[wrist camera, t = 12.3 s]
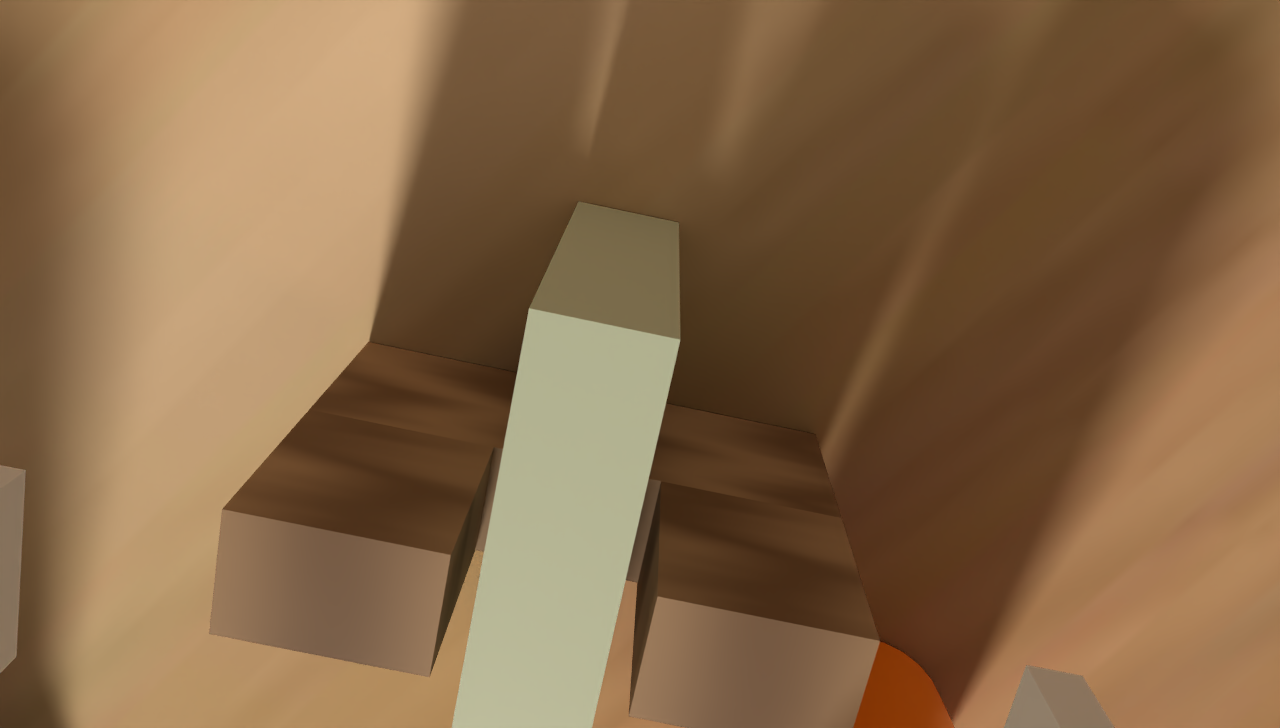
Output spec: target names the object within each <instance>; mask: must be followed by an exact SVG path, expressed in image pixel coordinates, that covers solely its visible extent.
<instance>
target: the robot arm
mask: <svg viewBox="0 0 1280 728" xmlns="http://www.w3.org/2000/svg"><path fill="white" fill-rule="evenodd" d="M25 477H26V470H23V469H18V468H13V467H8V466H3V465H0V673H1V672H2V671H3V670H4V669H5V668H6V667H7V666H8V665H9V664H10V663H11V662H12V661H13V660H14V659H15V658H16V657H17V637H18V617H19V597H20V577H21V557H22V537H23V517H24V497H25ZM1004 728H1114V726H1113V725H1112V723H1111V721H1110V720H1109V718H1108V716H1107V715H1106V713H1105V712H1104V710H1103V708H1102V707H1101V705H1100V704H1099V702H1098V700H1097V699H1096V697H1095V695H1094V694H1093V692H1092V691H1091V689H1090V687H1089V686H1088V684H1087V683H1086V681H1085V679H1084V678H1083V676H1081V675H1076V674H1070V673H1065V672H1060V671H1055V670H1050V669H1045V668H1040V667H1035V666H1029V665H1026V667H1025V670H1024V673H1023V676H1022V679H1021V681H1020V684H1019V687H1018V690H1017V693H1016V695H1015V698H1014V701H1013V704H1012V707H1011V710H1010V712H1009V715H1008V718H1007V721H1006V724H1005V726H1004Z"/></svg>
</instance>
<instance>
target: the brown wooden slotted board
mask: <svg viewBox="0 0 1280 728" xmlns="http://www.w3.org/2000/svg"><path fill="white" fill-rule="evenodd" d="M516 376H517V373H516V372H511V371H506V370H502V369H497V368H492V367H487V366H482V365H477V364H473V363H468V362H463V361H458V360H453V359H448V358H443V357H439V356H434V355H429V354H424V353H419V352H414V351H410V350H405V349H400V348H395V347H390V346H385V345H380V344H376V343H371V342H368V343H367V344H366V346H365V347H364V348H363V349H362V350H361V351H360V352H359V354H358V355H357V356H356V357H355V358H354V359H353V360H352V362H351V363H350V364H349V365H348V366H347V367H346V368H345V370H344V371H343V372H342V373H341V374H340V375H339V376H338V378H337V379H336V380H335V381H334V382H333V383H332V384H331V386H330V387H329V388H328V389H327V390H326V391H325V392H324V394H323V395H322V396H321V397H320V398H319V399H318V400H317V402H316V403H315V404H314V405H313V406H312V407H311V408H310V410H309V411H308V412H307V413H306V414H305V415H304V416H303V418H302V419H301V420H300V421H299V422H298V423H297V424H296V426H295V427H294V428H293V429H292V430H291V431H290V432H289V434H288V435H287V436H286V437H285V438H284V439H283V440H282V442H281V443H280V444H279V445H278V446H277V447H276V448H275V450H274V451H273V452H272V453H271V454H270V455H269V456H268V458H267V459H266V460H265V461H264V462H263V463H262V464H261V466H260V467H259V468H258V469H257V470H256V471H255V472H254V474H253V475H252V476H251V477H250V478H249V479H248V480H247V482H246V483H245V484H244V485H243V486H242V487H241V488H240V490H239V491H238V492H237V493H236V494H235V495H234V496H233V498H232V499H231V500H230V501H229V502H228V503H227V504H226V506H225V507H224V508H223V509H222V517H221V526H220V536H219V545H218V555H217V564H216V574H215V583H214V593H213V602H212V612H211V621H210V631H209V634H212V635H217V636H222V637H228V638H233V639H238V640H243V641H248V642H253V643H258V644H263V645H268V646H273V647H278V648H284V649H289V650H294V651H299V652H304V653H309V654H314V655H319V656H324V657H329V658H334V659H340V660H345V661H350V662H355V663H360V664H365V665H370V666H375V667H380V668H385V669H390V670H396V671H401V672H406V673H411V674H416V675H421V676H426V677H430V674H431V671H432V669H433V666H434V663H435V660H436V658H437V655H438V652H439V649H440V646H441V644H442V641H443V638H444V635H445V632H446V630H447V627H448V624H449V621H450V619H451V616H452V613H453V610H454V607H455V605H456V602H457V599H458V596H459V593H460V591H461V588H462V585H463V582H464V580H465V577H466V574H467V571H468V568H469V566H470V563H471V560H472V557H473V554H474V552H475V550H478V551H483V552H484V550H485V545H486V539H487V534H488V528H489V523H490V517H491V512H492V507H493V501H494V496H495V490H496V485H497V479H498V474H499V469H500V463H501V458H502V452H503V447H504V441H505V436H506V431H507V425H508V420H509V414H510V409H511V403H512V398H513V393H514V387H515V382H516ZM626 580H628V581H633V582H637V598H636V613H635V629H634V644H633V659H632V675H631V690H630V706H629V716H630V717H635V718H640V719H645V720H650V721H655V722H660V723H665V724H670V725H675V726H681V727H686V728H853V727H854V723H855V720H856V717H857V714H858V710H859V707H860V704H861V701H862V698H863V694H864V691H865V688H866V685H867V682H868V678H869V675H870V672H871V669H872V665H873V662H874V659H875V656H876V653H877V649H878V646H879V643H880V639H879V636H878V633H877V629H876V626H875V623H874V620H873V617H872V614H871V610H870V607H869V604H868V601H867V598H866V594H865V591H864V588H863V585H862V582H861V578H860V575H859V572H858V569H857V566H856V563H855V559H854V556H853V553H852V550H851V547H850V543H849V540H848V537H847V534H846V531H845V528H844V524H843V521H842V518H841V515H840V512H839V508H838V505H837V502H836V499H835V496H834V492H833V489H832V486H831V483H830V480H829V477H828V473H827V470H826V467H825V464H824V461H823V457H822V454H821V451H820V448H819V445H818V442H817V438H816V435H815V434H812V433H807V432H802V431H797V430H792V429H788V428H783V427H778V426H773V425H768V424H763V423H759V422H754V421H749V420H744V419H739V418H734V417H729V416H725V415H720V414H715V413H710V412H705V411H700V410H696V409H691V408H686V407H681V406H676V405H671V404H666V405H665V410H664V414H663V418H662V423H661V427H660V431H659V436H658V440H657V445H656V449H655V453H654V458H653V462H652V466H651V471H650V475H649V480H648V484H647V488H646V493H645V497H644V501H643V506H642V510H641V515H640V519H639V523H638V528H637V532H636V536H635V541H634V545H633V550H632V554H631V558H630V563H629V567H628V572H627V576H626Z"/></svg>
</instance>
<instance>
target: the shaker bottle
mask: <svg viewBox="0 0 1280 728" xmlns="http://www.w3.org/2000/svg"><path fill="white" fill-rule="evenodd" d="M853 728H955V727H954V725H953V723H952V721H951V719H950V717H949V714H948V712H947V710H946V708H945V706H944V704H943V701H942V699H941V697H940V695H939V693H938V691H937V689H936V687H935V685H934V683H933V682H932V680H931V678H930V677H929V676H928V675H927V674H926V672H925V671H924V670H923V669H922V668H921V667H920V665H919V664H917V663H916V662H915V661H914V660H912V659H911V658H910V657H908V656H907V655H906V654H905V653H903V652H902V651H900V650H898V649H896V648H894V647H892V646H890V645H888V644H886V643H883V642H880V643H879V646H878V649H877V653H876V656H875V659H874V662H873V665H872V669H871V672H870V675H869V678H868V682H867V685H866V688H865V691H864V694H863V698H862V701H861V704H860V707H859V710H858V714H857V717H856V720H855V723H854V727H853Z"/></svg>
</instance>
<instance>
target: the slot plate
mask: <svg viewBox="0 0 1280 728" xmlns="http://www.w3.org/2000/svg"><path fill="white" fill-rule="evenodd" d="M679 344H680V266H679V222H674V221H669V220H665V219H660V218H655V217H650V216H646V215H641V214H636V213H631V212H627V211H622V210H617V209H612V208H608V207H603V206H598V205H594V204H589V203H584V202H579V201H578V204H577V206H576V208H575V210H574V212H573V214H572V217H571V219H570V221H569V223H568V225H567V227H566V229H565V232H564V234H563V236H562V238H561V240H560V242H559V245H558V247H557V249H556V251H555V253H554V255H553V258H552V260H551V262H550V264H549V266H548V268H547V271H546V273H545V275H544V277H543V279H542V281H541V283H540V286H539V288H538V290H537V292H536V294H535V296H534V299H533V301H532V303H531V305H530V307H529V311H528V317H527V322H526V328H525V333H524V338H523V344H522V349H521V355H520V360H519V365H518V371H517V376H516V382H515V387H514V393H513V398H512V403H511V409H510V414H509V420H508V425H507V431H506V436H505V441H504V447H503V452H502V458H501V463H500V469H499V474H498V479H497V485H496V490H495V496H494V501H493V507H492V512H491V517H490V523H489V528H488V534H487V539H486V545H485V550H484V555H483V561H482V566H481V572H480V577H479V583H478V588H477V593H476V599H475V604H474V610H473V615H472V621H471V626H470V631H469V637H468V642H467V648H466V653H465V658H464V664H463V669H462V675H461V680H460V686H459V691H458V696H457V702H456V707H455V713H454V718H453V724H452V728H592V725H593V720H594V716H595V712H596V707H597V703H598V698H599V694H600V690H601V685H602V681H603V677H604V672H605V668H606V663H607V659H608V655H609V650H610V646H611V642H612V637H613V633H614V628H615V624H616V620H617V615H618V611H619V607H620V602H621V598H622V593H623V589H624V585H625V580H626V576H627V572H628V567H629V563H630V558H631V554H632V550H633V545H634V541H635V536H636V532H637V528H638V523H639V519H640V515H641V510H642V506H643V501H644V497H645V493H646V488H647V484H648V480H649V475H650V471H651V466H652V462H653V458H654V453H655V449H656V445H657V440H658V436H659V431H660V427H661V423H662V418H663V414H664V410H665V405H666V401H667V396H668V392H669V388H670V383H671V379H672V375H673V370H674V366H675V361H676V357H677V353H678V348H679Z"/></svg>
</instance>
